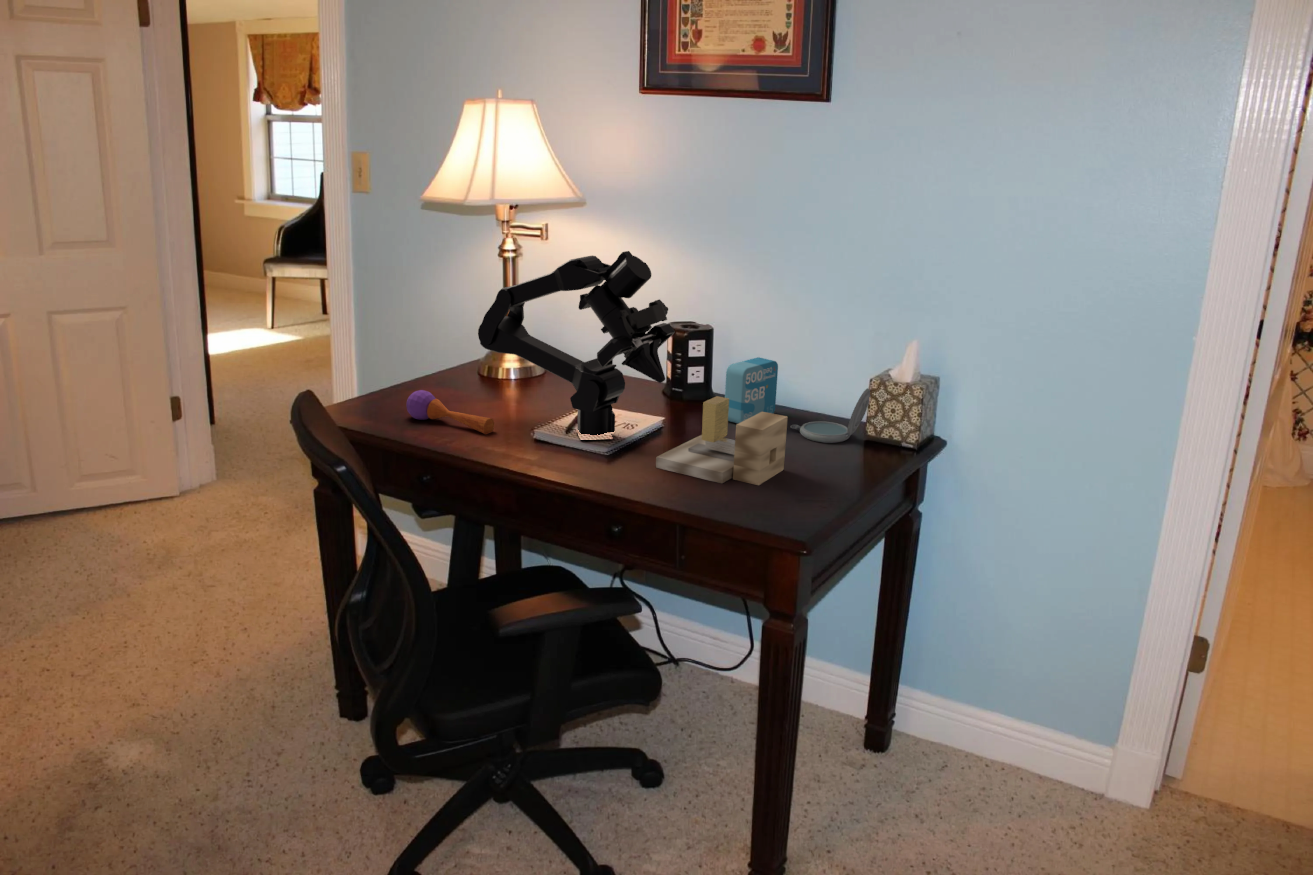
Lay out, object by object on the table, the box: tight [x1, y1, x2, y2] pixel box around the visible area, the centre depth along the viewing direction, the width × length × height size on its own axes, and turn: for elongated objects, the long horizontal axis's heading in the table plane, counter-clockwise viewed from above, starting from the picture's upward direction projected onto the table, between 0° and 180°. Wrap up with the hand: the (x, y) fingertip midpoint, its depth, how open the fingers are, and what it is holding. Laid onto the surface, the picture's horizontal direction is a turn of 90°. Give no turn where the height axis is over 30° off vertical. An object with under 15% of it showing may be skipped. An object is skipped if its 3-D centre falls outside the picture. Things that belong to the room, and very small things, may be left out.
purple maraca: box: [406, 389, 495, 435], centre depth 211 cm, size 6×6×20 cm
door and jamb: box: [655, 412, 789, 486], centre depth 191 cm, size 19×16×10 cm
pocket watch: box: [790, 388, 871, 444], centre depth 210 cm, size 10×11×15 cm
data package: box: [724, 356, 779, 424], centre depth 220 cm, size 12×4×12 cm, turn 138°
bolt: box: [701, 395, 735, 455], centre depth 190 cm, size 7×5×9 cm
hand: (662, 381), depth 195 cm, fingers closed
